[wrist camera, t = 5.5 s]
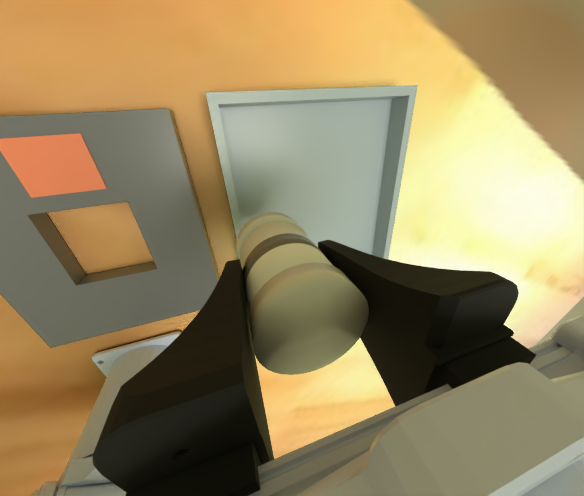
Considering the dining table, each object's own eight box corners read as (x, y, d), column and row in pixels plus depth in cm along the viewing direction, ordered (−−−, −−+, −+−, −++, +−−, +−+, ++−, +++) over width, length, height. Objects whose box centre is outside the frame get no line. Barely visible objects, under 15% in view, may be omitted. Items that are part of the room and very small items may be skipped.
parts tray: (372, 262, 26) (385, 273, 24) (248, 293, 23) (251, 308, 21) (394, 91, 18) (417, 85, 16) (206, 98, 15) (205, 92, 13)
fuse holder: (224, 294, 22) (224, 304, 21) (61, 333, 19) (49, 348, 18) (172, 111, 15) (167, 108, 13) (-116, 125, 11) (-161, 124, 10)
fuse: (304, 265, 15) (364, 352, 9) (243, 280, 14) (264, 388, 8) (301, 206, 13) (374, 268, 7) (228, 219, 12) (241, 304, 6)
